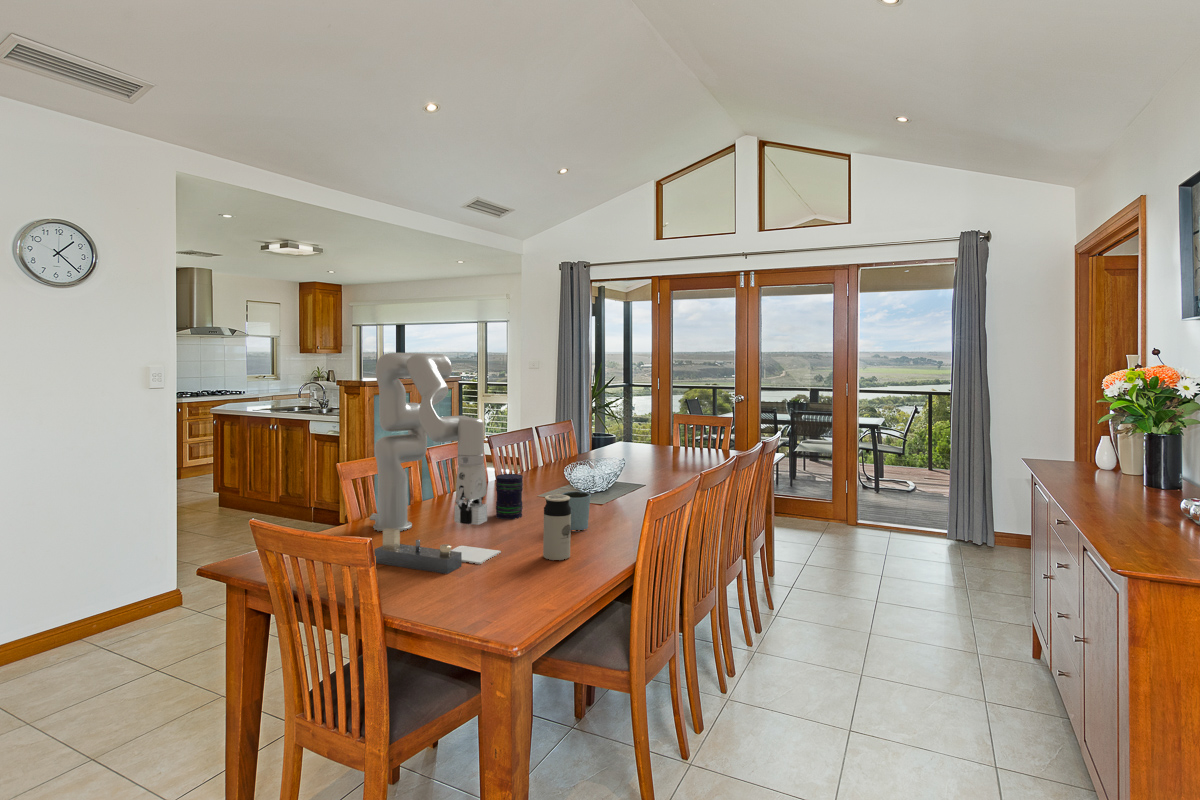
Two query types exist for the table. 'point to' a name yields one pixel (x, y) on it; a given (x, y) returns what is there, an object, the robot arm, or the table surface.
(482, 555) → the mat
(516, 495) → the storage jar
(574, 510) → the blue grey cup
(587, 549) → the table surface
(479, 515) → the grey rectangular block
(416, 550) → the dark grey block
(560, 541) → the travel mug
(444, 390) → the robot arm
